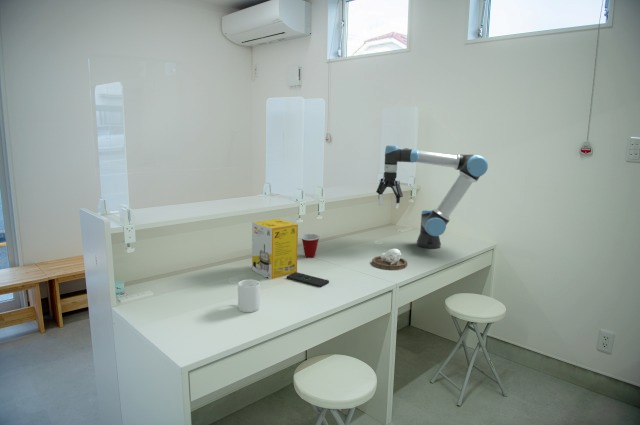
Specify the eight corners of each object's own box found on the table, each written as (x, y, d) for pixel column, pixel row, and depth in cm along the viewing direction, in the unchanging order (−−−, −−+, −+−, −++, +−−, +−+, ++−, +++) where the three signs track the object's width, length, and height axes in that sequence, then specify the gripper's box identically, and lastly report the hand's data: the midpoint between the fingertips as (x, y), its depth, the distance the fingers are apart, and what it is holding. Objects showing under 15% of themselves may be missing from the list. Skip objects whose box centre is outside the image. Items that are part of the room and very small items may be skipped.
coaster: (389, 257, 245) (390, 254, 245) (413, 266, 231) (413, 262, 230) (365, 262, 235) (365, 258, 235) (389, 271, 220) (389, 268, 220)
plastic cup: (296, 257, 241) (297, 236, 239) (306, 252, 250) (306, 232, 248) (313, 260, 236) (314, 239, 234) (322, 255, 245) (323, 235, 243)
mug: (247, 300, 179) (247, 275, 177) (264, 309, 171) (264, 283, 168) (229, 305, 173) (229, 280, 171) (246, 315, 165) (246, 288, 163)
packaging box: (252, 270, 216) (252, 222, 212) (277, 264, 227) (278, 218, 222) (270, 279, 205) (271, 228, 200) (297, 272, 215) (297, 224, 211)
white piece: (395, 250, 225) (377, 247, 234) (395, 266, 226) (377, 262, 235) (402, 248, 229) (384, 245, 238) (402, 263, 230) (384, 260, 239)
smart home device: (296, 271, 213) (329, 280, 202) (296, 274, 213) (329, 283, 202) (285, 276, 206) (320, 285, 195) (285, 279, 206) (320, 288, 195)
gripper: (371, 169, 262) (370, 203, 266) (401, 173, 242) (398, 210, 246) (380, 169, 266) (378, 202, 270) (410, 173, 246) (407, 209, 250)
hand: (388, 206), depth 258 cm, fingers open, 13 cm apart
